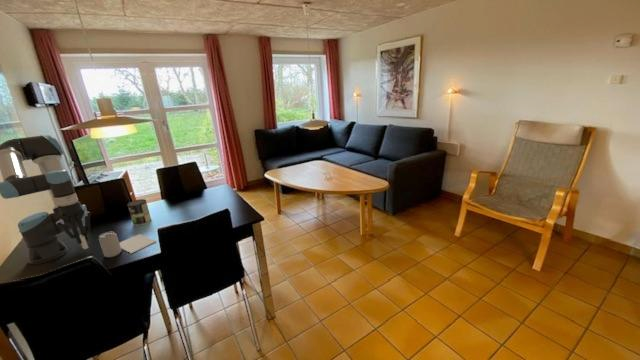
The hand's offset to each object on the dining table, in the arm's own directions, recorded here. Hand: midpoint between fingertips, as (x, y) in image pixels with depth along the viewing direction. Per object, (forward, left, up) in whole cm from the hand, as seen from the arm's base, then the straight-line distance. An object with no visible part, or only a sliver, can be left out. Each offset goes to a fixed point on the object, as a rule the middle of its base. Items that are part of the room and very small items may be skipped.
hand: (85, 247), depth 130 cm
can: (+10, 0, -10) cm, 14 cm away
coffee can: (+37, +26, -10) cm, 46 cm away
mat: (+21, 0, -9) cm, 23 cm away
